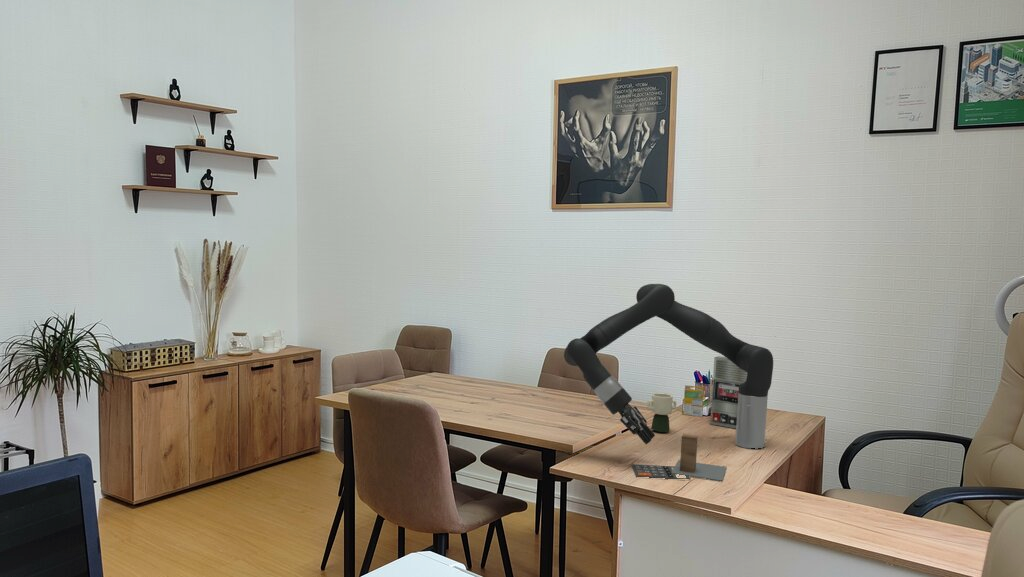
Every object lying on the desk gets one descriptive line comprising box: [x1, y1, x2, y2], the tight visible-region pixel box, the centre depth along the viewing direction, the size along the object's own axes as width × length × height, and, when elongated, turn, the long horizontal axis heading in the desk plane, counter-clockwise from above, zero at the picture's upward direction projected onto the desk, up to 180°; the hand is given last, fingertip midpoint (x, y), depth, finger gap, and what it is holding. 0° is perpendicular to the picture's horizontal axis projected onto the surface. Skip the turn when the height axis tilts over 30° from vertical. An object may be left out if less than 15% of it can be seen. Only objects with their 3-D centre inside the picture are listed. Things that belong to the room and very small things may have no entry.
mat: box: [671, 459, 727, 482], centre depth 209 cm, size 14×14×1 cm
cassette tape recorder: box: [708, 355, 747, 429], centre depth 266 cm, size 14×6×25 cm, turn 55°
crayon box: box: [682, 385, 705, 417], centre depth 283 cm, size 7×3×12 cm, turn 77°
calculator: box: [631, 463, 691, 480], centre depth 206 cm, size 12×1×15 cm
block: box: [679, 432, 699, 473], centre depth 208 cm, size 4×4×10 cm
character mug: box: [646, 392, 677, 433], centre depth 254 cm, size 11×7×13 cm, turn 103°
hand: (650, 440), depth 212 cm, fingers open, 5 cm apart
